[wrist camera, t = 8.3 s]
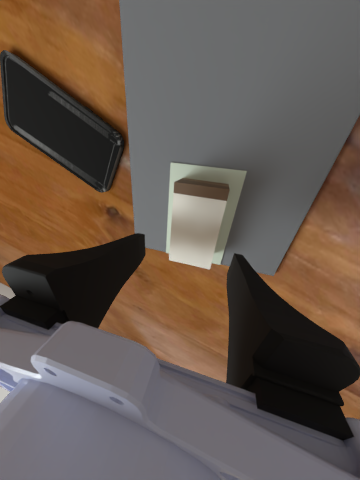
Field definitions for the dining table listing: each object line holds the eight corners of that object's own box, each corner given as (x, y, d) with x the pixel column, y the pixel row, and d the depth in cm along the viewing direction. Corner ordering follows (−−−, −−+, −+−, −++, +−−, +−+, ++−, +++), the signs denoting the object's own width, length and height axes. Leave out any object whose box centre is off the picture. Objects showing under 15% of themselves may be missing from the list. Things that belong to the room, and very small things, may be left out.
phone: (104, 195, 20) (4, 125, 19) (109, 194, 21) (15, 127, 20) (123, 136, 16) (-2, 42, 15) (129, 137, 17) (11, 49, 16)
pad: (171, 162, 16) (170, 162, 16) (246, 171, 15) (246, 171, 15) (166, 252, 22) (165, 252, 22) (220, 264, 21) (220, 264, 21)
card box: (211, 253, 20) (209, 269, 17) (176, 245, 21) (168, 260, 18) (228, 183, 16) (229, 189, 13) (182, 177, 17) (174, 181, 14)
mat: (438, -46, 8) (452, -59, 8) (272, 272, 20) (273, 275, 20) (122, -14, 12) (117, -22, 11) (137, 243, 24) (135, 245, 23)
